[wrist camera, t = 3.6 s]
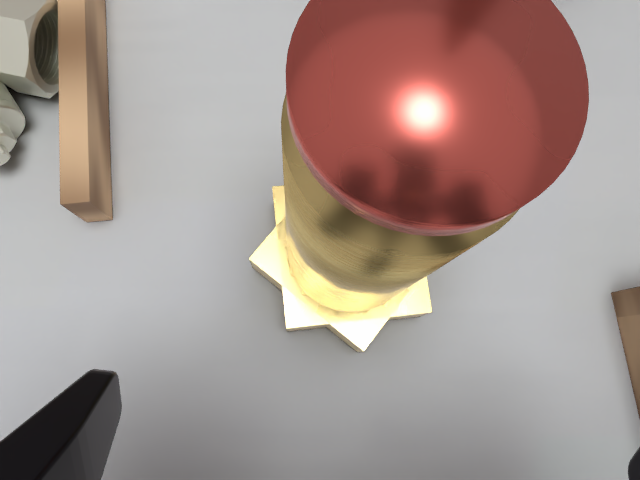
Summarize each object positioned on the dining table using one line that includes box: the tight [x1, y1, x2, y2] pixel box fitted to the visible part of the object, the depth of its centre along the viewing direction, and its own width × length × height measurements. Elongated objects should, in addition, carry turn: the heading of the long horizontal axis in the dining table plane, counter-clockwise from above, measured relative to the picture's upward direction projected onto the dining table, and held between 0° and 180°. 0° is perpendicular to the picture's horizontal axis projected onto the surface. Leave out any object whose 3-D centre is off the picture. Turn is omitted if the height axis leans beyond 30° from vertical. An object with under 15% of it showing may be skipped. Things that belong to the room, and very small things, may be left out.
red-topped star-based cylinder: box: [249, 0, 589, 352], centre depth 15 cm, size 7×7×14 cm
